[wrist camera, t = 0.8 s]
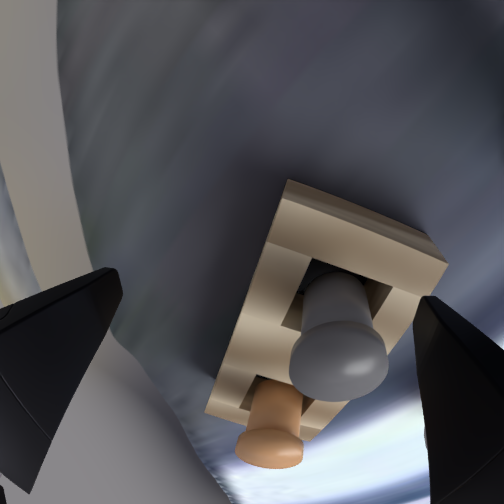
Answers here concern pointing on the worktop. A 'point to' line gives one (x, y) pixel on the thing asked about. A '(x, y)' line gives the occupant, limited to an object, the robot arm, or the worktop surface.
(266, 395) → the mushroom knob terracotta
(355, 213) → the housing
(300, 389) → the grey mushroom knob
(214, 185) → the worktop surface
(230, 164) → the worktop surface
